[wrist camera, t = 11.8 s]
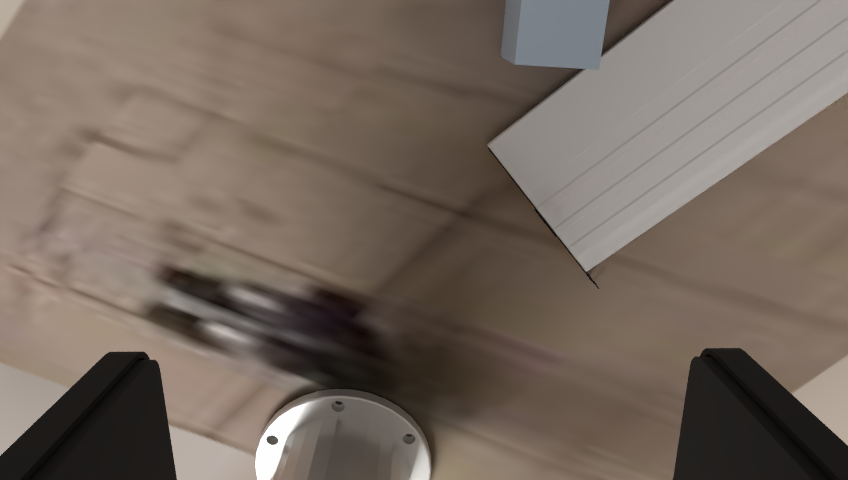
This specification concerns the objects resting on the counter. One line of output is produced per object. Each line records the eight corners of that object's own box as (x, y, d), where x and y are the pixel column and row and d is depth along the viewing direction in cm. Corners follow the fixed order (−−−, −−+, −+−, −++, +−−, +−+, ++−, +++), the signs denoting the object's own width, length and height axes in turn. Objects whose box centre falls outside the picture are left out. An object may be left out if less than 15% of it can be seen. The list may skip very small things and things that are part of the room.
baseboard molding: (1078, -47, 32) (994, -259, 29) (1139, -53, 29) (1053, -288, 26) (594, 282, 39) (484, 141, 36) (606, 302, 36) (488, 151, 33)
